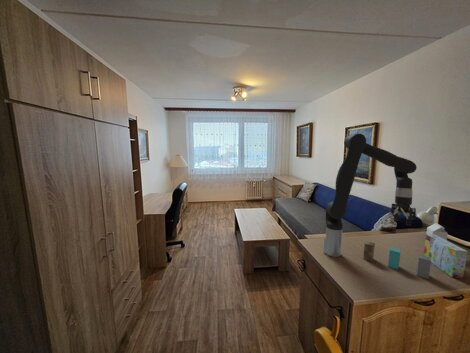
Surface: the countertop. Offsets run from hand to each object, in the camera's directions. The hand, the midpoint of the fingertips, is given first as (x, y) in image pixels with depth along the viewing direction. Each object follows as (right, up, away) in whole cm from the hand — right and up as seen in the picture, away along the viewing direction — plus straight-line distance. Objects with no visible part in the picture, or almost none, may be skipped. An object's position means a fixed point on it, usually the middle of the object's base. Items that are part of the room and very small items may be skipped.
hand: (402, 223), depth 116 cm
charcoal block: (+1, -25, -11) cm, 27 cm away
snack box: (+19, -24, -3) cm, 31 cm away
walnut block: (-17, -23, +5) cm, 28 cm away
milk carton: (+31, -22, +13) cm, 40 cm away
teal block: (-8, -24, -3) cm, 25 cm away
